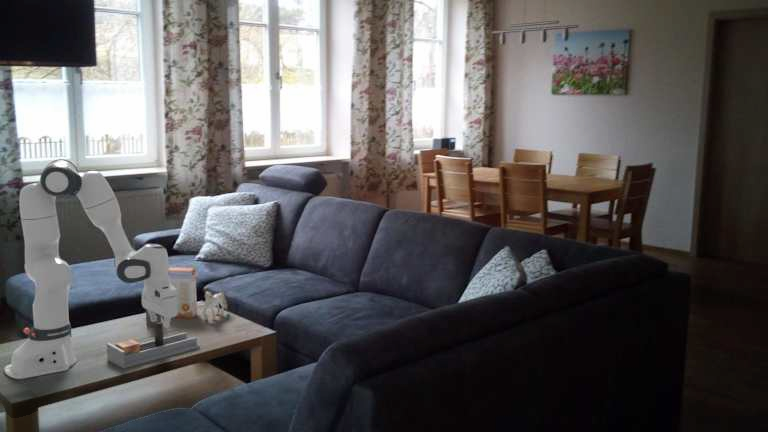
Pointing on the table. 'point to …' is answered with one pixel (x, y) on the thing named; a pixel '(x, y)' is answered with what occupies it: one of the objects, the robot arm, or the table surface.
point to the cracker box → (184, 290)
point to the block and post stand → (134, 346)
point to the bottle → (148, 319)
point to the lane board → (151, 350)
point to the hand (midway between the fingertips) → (160, 324)
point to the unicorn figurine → (214, 303)
